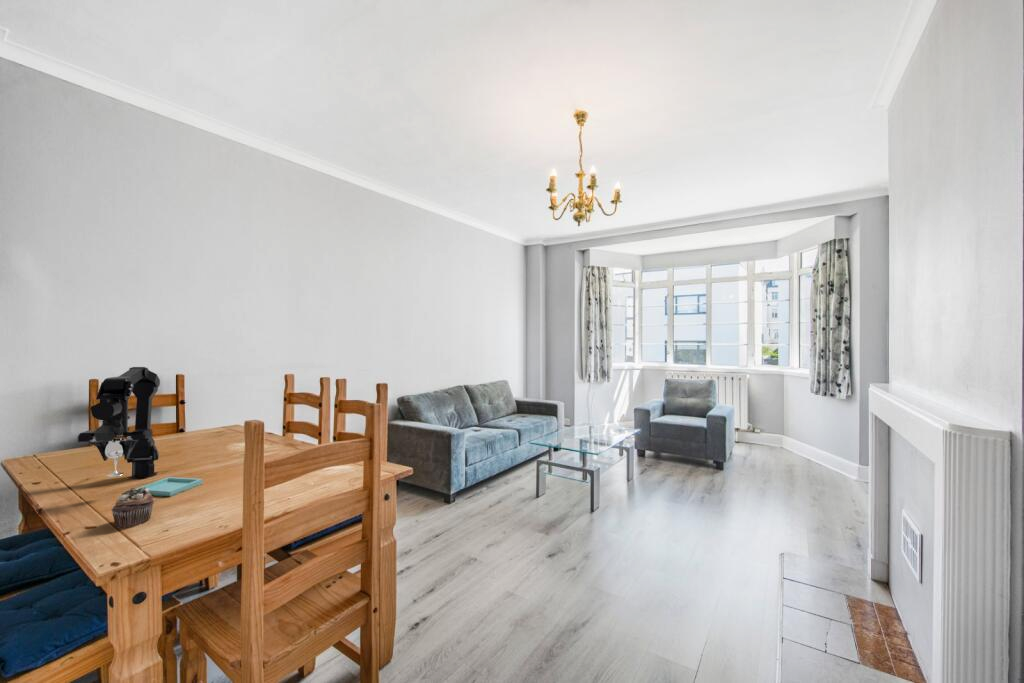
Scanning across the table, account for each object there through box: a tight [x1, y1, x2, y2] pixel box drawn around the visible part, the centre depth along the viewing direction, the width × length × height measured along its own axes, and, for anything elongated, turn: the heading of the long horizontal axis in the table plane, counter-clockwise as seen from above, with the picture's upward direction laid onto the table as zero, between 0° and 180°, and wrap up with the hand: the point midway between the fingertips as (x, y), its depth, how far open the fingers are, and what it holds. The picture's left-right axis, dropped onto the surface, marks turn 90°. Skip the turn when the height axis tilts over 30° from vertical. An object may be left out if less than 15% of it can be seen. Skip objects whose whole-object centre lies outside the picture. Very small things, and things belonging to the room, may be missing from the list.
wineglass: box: [104, 437, 127, 478], centre depth 150 cm, size 6×6×12 cm
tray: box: [135, 476, 203, 498], centre depth 159 cm, size 14×14×2 cm
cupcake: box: [111, 487, 155, 528], centre depth 131 cm, size 10×10×10 cm
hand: (115, 460), depth 150 cm, fingers closed on wineglass, 5 cm apart
